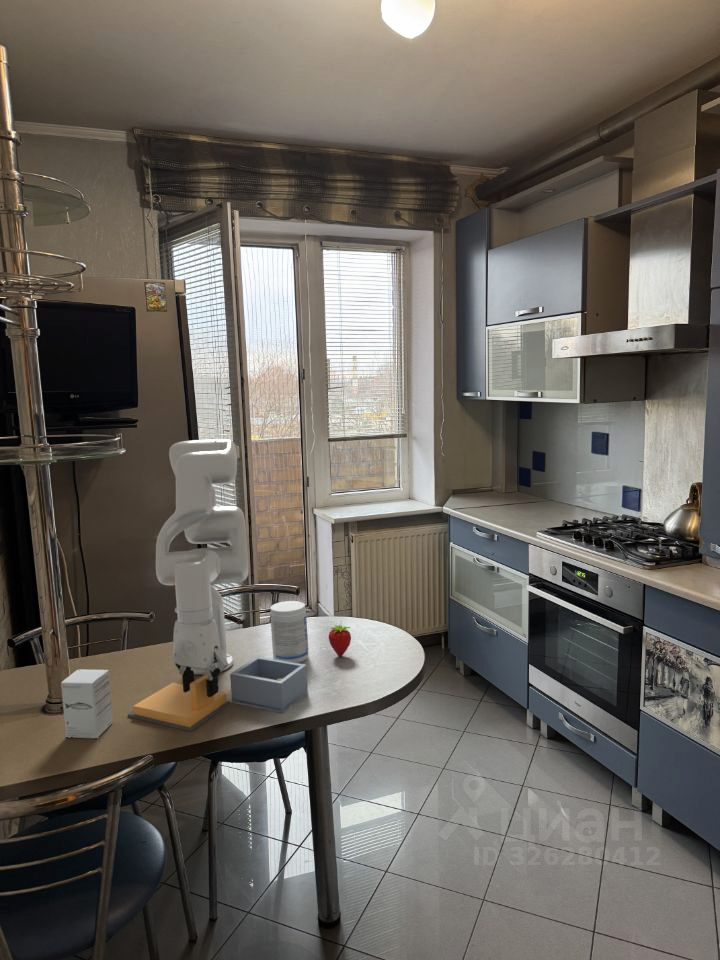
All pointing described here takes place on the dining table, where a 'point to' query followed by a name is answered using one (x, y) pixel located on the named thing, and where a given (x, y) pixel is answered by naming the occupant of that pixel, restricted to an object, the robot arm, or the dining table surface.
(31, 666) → the dining table surface
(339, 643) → the strawberry
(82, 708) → the supplement box
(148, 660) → the dining table surface
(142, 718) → the mat
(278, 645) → the supplement tub
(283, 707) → the parts tub
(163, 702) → the lid
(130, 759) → the dining table surface
